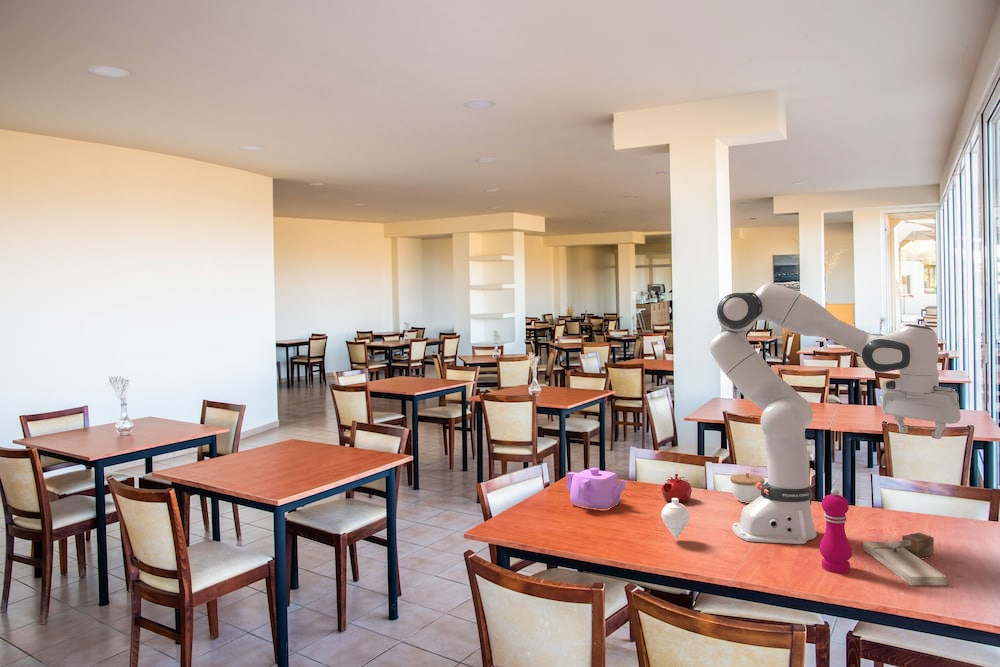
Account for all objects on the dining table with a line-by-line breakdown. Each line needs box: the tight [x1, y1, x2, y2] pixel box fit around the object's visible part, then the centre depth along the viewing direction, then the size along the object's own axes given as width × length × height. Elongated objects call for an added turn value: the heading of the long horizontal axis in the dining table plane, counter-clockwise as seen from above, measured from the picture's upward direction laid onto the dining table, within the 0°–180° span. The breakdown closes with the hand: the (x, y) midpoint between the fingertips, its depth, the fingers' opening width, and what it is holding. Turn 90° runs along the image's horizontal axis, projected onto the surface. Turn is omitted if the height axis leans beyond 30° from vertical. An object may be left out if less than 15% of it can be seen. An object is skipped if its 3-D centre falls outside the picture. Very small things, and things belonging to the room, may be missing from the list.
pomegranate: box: [661, 473, 693, 503], centre depth 229 cm, size 10×10×9 cm
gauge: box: [890, 532, 935, 560], centre depth 174 cm, size 12×4×5 cm, turn 110°
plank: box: [863, 541, 948, 586], centre depth 168 cm, size 8×23×2 cm, turn 177°
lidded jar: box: [729, 472, 766, 502], centre depth 226 cm, size 11×11×9 cm
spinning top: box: [661, 498, 691, 541], centre depth 191 cm, size 8×8×12 cm
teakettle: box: [566, 467, 628, 509], centre depth 228 cm, size 17×17×12 cm
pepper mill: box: [819, 488, 853, 574], centre depth 168 cm, size 7×7×20 cm
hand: (919, 435), depth 183 cm, fingers open, 8 cm apart
